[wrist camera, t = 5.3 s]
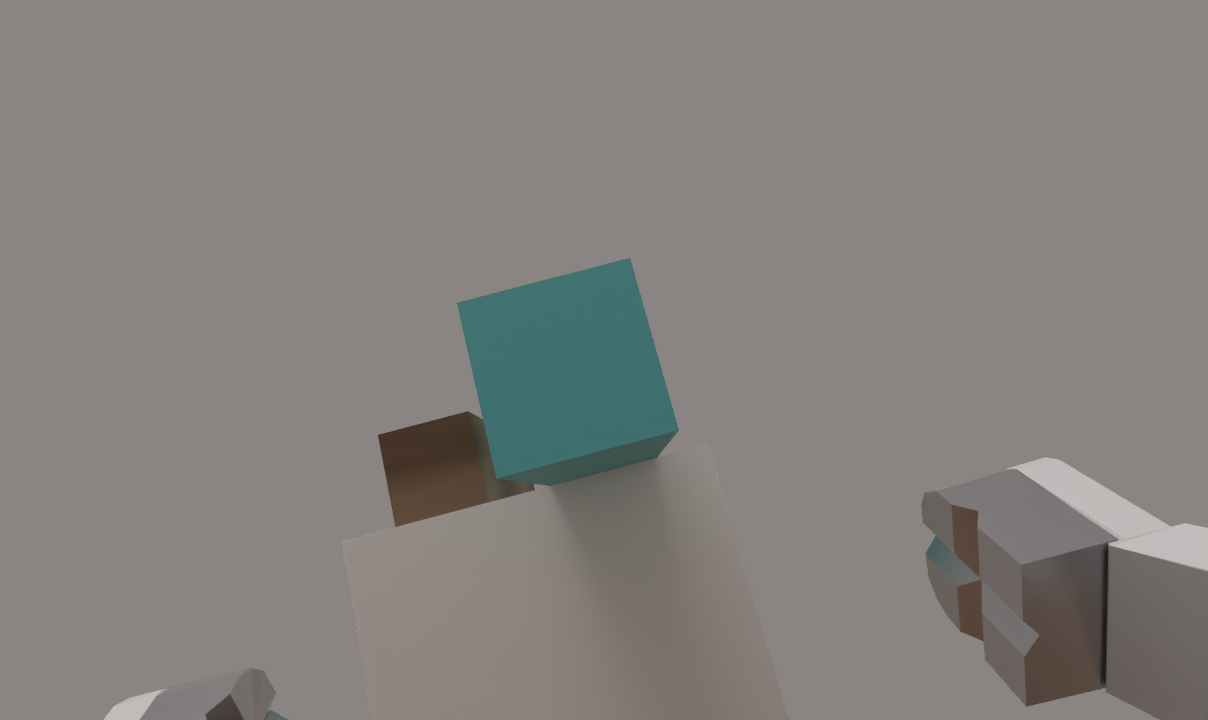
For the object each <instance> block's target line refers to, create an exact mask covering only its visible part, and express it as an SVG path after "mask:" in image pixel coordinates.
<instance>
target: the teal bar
mask: <svg viewBox="0 0 1208 720" xmlns="http://www.w3.org/2000/svg"><path fill="white" fill-rule="evenodd" d="M457 305H458V309H459V314H460V318H461V323H462V327H463V332H464V336H465V341H466V345H467V350H468V354H469V359H470V363H471V368H472V372H473V376H474V381H475V385H476V390H477V394H478V399H479V403H480V408H481V412H482V417H483V421H484V426H485V430H486V435H487V439H488V444H489V448H490V453H491V457H492V461H493V466H494V470H495V475H496V479H503V480H510V481H518V482H525V483H532V484H539V485H546V486H552V485H556V484H560V483H564V482H567V481H571V480H575V479H579V478H582V477H586V476H590V475H594V474H598V473H601V472H605V471H609V470H613V469H616V468H620V467H624V466H628V465H631V464H635V463H639V462H643V461H646V460H650V459H654V458H657V457H658V456H659V454H660V453H661V452H662V451H663V449H664V448H665V447H666V446H667V444H668V443H669V442H670V441H671V439H672V438H673V437H674V436H675V434H676V433H677V432H678V431H679V429H678V426H677V422H676V419H675V415H674V411H673V408H672V404H671V401H670V397H669V394H668V390H667V387H666V383H665V380H664V376H663V373H662V369H661V366H660V362H659V359H658V356H657V352H656V348H655V345H654V341H653V338H652V334H651V331H650V327H649V323H648V320H647V317H646V313H645V309H644V306H643V302H642V299H641V295H640V292H639V288H638V285H637V281H636V278H635V274H634V271H633V267H632V264H631V260H630V258H628V259H624V260H620V261H617V262H613V263H609V264H605V265H601V266H597V267H594V268H590V269H586V270H582V271H578V272H574V273H570V274H567V275H562V276H559V277H555V278H551V279H547V280H543V281H539V282H535V283H532V284H528V285H524V286H520V287H516V288H512V289H509V290H505V291H501V292H497V293H493V294H489V295H486V296H481V297H478V298H474V299H470V300H466V301H463V302H458V303H457Z"/></svg>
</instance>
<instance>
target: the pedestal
mask: <svg viewBox="0 0 1208 720" xmlns="http://www.w3.org/2000/svg"><path fill="white" fill-rule="evenodd" d="M341 543H342V548H343V554H344V560H345V566H346V572H347V577H348V583H349V589H350V595H351V601H352V606H353V612H354V617H355V624H356V629H357V635H358V641H359V647H360V653H361V659H362V664H363V670H364V676H365V681H366V687H367V693H368V699H369V704H370V711H371V716H372V720H789V718H788V714H787V711H786V707H785V704H784V700H783V697H782V694H781V690H780V687H779V683H778V680H777V676H776V673H775V669H774V666H773V663H772V659H771V656H770V653H769V649H768V646H767V642H766V639H765V636H764V632H763V628H762V625H761V622H760V618H759V615H758V612H757V608H756V604H755V601H754V598H753V595H752V591H751V587H750V584H749V581H748V577H747V574H746V570H745V567H744V563H743V560H742V557H741V554H740V550H739V546H738V543H737V539H736V536H735V533H734V529H733V526H732V523H731V519H730V516H729V512H728V509H727V505H726V502H725V498H724V495H723V491H722V488H721V485H720V481H719V478H718V474H717V471H716V467H715V464H714V461H713V457H712V454H711V450H710V447H709V444H707V445H703V446H700V447H695V448H692V449H688V450H684V451H680V452H677V453H673V454H669V455H665V456H661V457H658V458H654V459H650V460H646V461H643V462H639V463H635V464H631V465H628V466H624V467H620V468H616V469H613V470H609V471H605V472H601V473H598V474H594V475H590V476H586V477H582V478H579V479H575V480H571V481H567V482H564V483H560V484H556V485H552V486H549V487H545V488H541V489H537V490H533V491H530V492H526V493H522V494H518V495H515V496H511V497H507V498H503V499H500V500H496V501H492V502H488V503H484V504H481V505H477V506H473V507H469V508H466V509H462V510H458V511H454V512H451V513H447V514H443V515H439V516H436V517H432V518H428V519H424V520H420V521H417V522H413V523H409V524H405V525H402V526H398V527H394V528H390V529H387V530H383V531H379V532H375V533H371V534H368V535H364V536H361V537H356V538H353V539H349V540H345V541H342V542H341Z"/></svg>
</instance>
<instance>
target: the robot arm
mask: <svg viewBox="0 0 1208 720" xmlns="http://www.w3.org/2000/svg"><path fill="white" fill-rule="evenodd" d="M922 517H923V523H924V524H925V525H926V526H927V527H928V528H929V529H930V530H931V531H932V532H933V533H934V534H935V535H936V537H935V538H934V540H933V542H932V544H931V545H930V547H929V549H928V551H927V552H926V560H927V568H928V575H929V578H930V582H931V584H932V587H933V589H934V592H935V595H936V597H937V600H938V601H939V603H940V605H941V606H942V608H943V610H944V611H945V613H946V614H947V616H948V617H949V618H950V620H951V621H952V622H953V623H954V624H955V626H956V627H957V628H958V629H959V630H960V631H961V632H963V633H965V634H968V635H970V636H973V637H975V638H977V639H980V640H982V641H984V650H985V660H986V661H987V662H988V664H989V665H990V666H991V667H992V668H993V669H994V671H995V672H996V673H997V674H998V675H999V676H1000V677H1001V678H1002V680H1003V681H1004V682H1005V683H1006V684H1007V685H1008V686H1009V688H1010V689H1011V690H1012V691H1013V692H1014V693H1015V694H1016V695H1017V697H1018V698H1019V699H1020V700H1021V701H1022V702H1023V703H1024V704H1025V706H1030V705H1035V704H1039V703H1044V702H1048V701H1052V700H1056V699H1060V698H1065V697H1068V696H1073V695H1077V694H1081V693H1086V692H1090V691H1094V690H1098V689H1103V688H1106V692H1107V693H1109V694H1111V695H1113V696H1115V697H1117V698H1119V699H1121V700H1123V701H1124V702H1127V703H1128V704H1130V705H1133V706H1134V707H1136V708H1138V709H1140V710H1142V711H1144V712H1146V713H1148V714H1150V715H1152V716H1154V717H1156V718H1158V719H1160V720H1208V528H1205V527H1200V526H1195V525H1191V524H1186V523H1185V524H1181V525H1177V526H1173V527H1170V526H1169V525H1167V524H1165V523H1164V522H1162V521H1160V520H1159V519H1157V518H1155V517H1154V516H1152V515H1150V514H1149V513H1147V512H1145V511H1144V510H1142V509H1140V508H1139V507H1137V506H1135V505H1134V504H1132V503H1130V502H1129V501H1127V500H1125V499H1124V498H1122V497H1120V496H1119V495H1117V494H1115V493H1114V492H1112V491H1110V490H1108V489H1107V488H1105V487H1103V486H1102V485H1100V484H1099V483H1097V482H1095V481H1094V480H1092V479H1090V478H1089V477H1087V476H1085V475H1084V474H1082V473H1080V472H1079V471H1077V470H1075V469H1074V468H1072V467H1070V466H1069V465H1067V464H1065V463H1063V462H1062V461H1060V460H1057V459H1052V458H1046V457H1045V458H1041V459H1038V460H1035V461H1031V462H1028V463H1025V464H1021V465H1018V466H1015V467H1011V468H1008V469H1005V470H1004V471H1002V472H998V473H995V474H991V475H988V476H984V477H980V478H976V479H972V480H969V481H965V482H961V483H958V484H954V485H950V486H947V487H943V488H939V489H935V490H932V491H928V492H925V493H924V497H923V501H922ZM275 694H276V692H275V690H274V688H273V686H272V685H271V683H270V681H269V679H268V678H267V676H266V674H265V672H264V671H260V670H257V669H253V668H249V669H245V670H241V671H237V672H232V673H228V674H224V675H220V676H216V677H212V678H207V679H203V680H199V681H195V682H191V683H187V684H183V685H178V686H174V687H170V688H169V689H162V690H158V691H154V692H151V693H147V694H143V695H139V696H135V697H131V698H129V699H127V700H125V701H123V702H121V703H119V704H117V705H116V706H114V707H113V708H112V710H111V711H110V712H109V713H108V715H107V716H106V717H105V719H104V720H288V719H286V718H284V717H282V716H280V715H279V714H277V713H275V712H273V711H271V707H272V704H273V701H274V698H275Z"/></svg>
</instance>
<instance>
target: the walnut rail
mask: <svg viewBox="0 0 1208 720" xmlns="http://www.w3.org/2000/svg"><path fill="white" fill-rule="evenodd" d="M378 437H379V442H380V447H381V453H382V458H383V463H384V469H385V474H386V479H387V485H388V490H389V495H390V500H391V505H392V510H393V516H394V521H395V527H398V526H402V525H405V524H409V523H413V522H417V521H420V520H424V519H428V518H432V517H436V516H439V515H443V514H447V513H451V512H454V511H458V510H462V509H466V508H469V507H473V506H477V505H481V504H484V503H488V502H492V501H496V500H500V499H503V498H507V497H511V496H515V495H518V494H522V493H526V492H530V491H533V490H535V489H534V485H533V484H532V483H525V482H518V481H510V480H503V479H496V475H495V470H494V466H493V461H492V457H491V453H490V448H489V444H488V439H487V435H486V430H485V426H484V421H483V419H481V418H479V417H477V416H475V415H474V414H472V413H470V412H464V413H460V414H456V415H452V416H448V417H445V418H441V419H437V420H433V421H430V422H426V423H422V424H418V425H414V426H410V427H407V428H403V429H399V430H395V431H392V432H388V433H384V434H380V435H378Z"/></svg>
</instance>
